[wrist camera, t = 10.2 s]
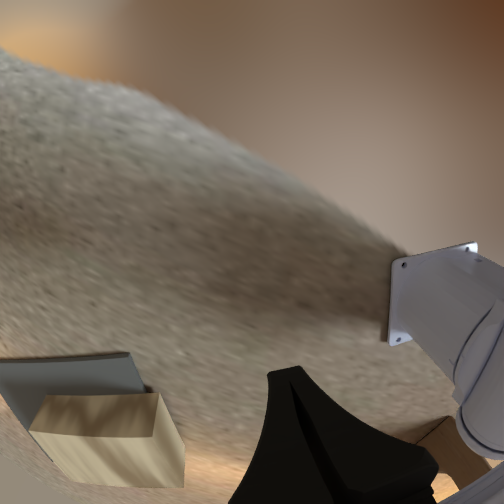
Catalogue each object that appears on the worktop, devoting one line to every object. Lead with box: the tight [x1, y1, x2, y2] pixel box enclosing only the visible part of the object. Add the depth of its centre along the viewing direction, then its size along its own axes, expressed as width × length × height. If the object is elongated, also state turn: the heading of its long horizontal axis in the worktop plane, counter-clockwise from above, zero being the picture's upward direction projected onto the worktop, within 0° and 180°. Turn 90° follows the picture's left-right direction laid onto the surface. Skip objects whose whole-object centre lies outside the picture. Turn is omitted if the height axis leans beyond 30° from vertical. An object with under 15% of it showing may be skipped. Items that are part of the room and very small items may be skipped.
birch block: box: [28, 392, 185, 488], centre depth 22 cm, size 5×8×12 cm
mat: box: [0, 353, 147, 462], centre depth 24 cm, size 18×16×1 cm
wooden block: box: [415, 416, 492, 490], centre depth 24 cm, size 9×4×18 cm, turn 136°
